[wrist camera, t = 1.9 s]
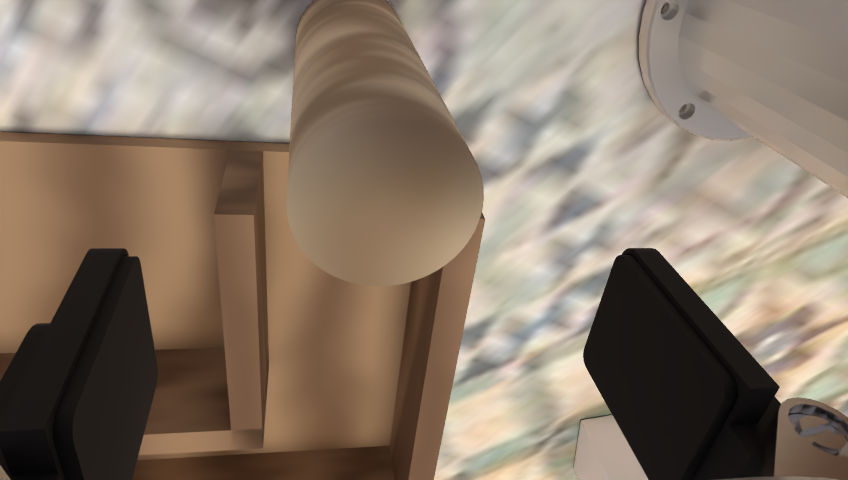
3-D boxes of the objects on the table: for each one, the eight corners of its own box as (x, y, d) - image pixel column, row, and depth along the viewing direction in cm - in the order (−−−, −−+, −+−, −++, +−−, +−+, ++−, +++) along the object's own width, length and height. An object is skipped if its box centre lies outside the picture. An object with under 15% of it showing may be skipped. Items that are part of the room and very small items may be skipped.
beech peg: (410, -8, 27) (499, 118, 14) (399, 100, 29) (467, 285, 17) (295, -18, 26) (285, 107, 13) (295, 94, 28) (287, 286, 16)
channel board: (452, 150, 31) (485, 219, 26) (406, 446, 44) (422, 538, 38) (-88, 128, 26) (-198, 206, 21) (34, 468, 39) (-14, 577, 33)
